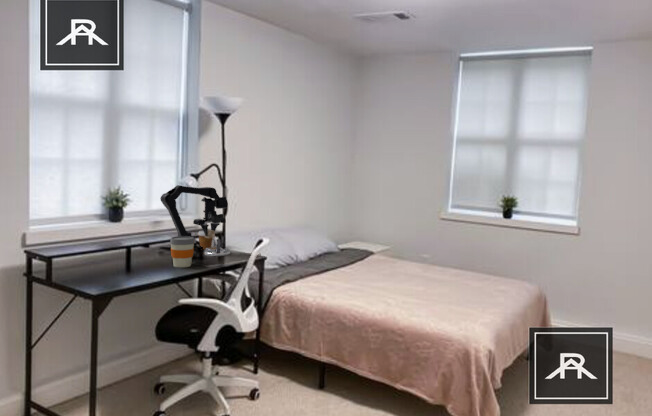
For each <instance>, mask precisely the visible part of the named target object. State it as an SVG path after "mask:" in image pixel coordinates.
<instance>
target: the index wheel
mask: <svg viewBox="0 0 652 416" xmlns="http://www.w3.org/2000/svg"><path fill="white" fill-rule="evenodd" d="M215 245H216V246H212V247H210V248H206V249H205V250H204V255H205V256H208V257H209V256H210V257H224V256H228V255H230V254H231V250H230V249H229V248H228V247H226V248H225V247H224V248H222V246H221V239H220V238H216V243H215Z"/></svg>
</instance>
